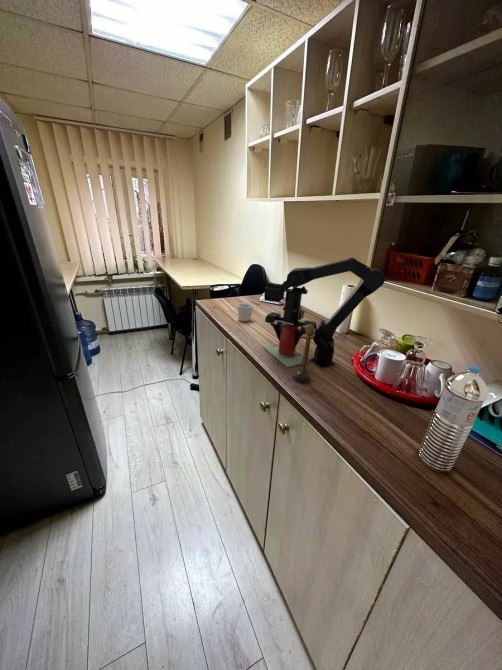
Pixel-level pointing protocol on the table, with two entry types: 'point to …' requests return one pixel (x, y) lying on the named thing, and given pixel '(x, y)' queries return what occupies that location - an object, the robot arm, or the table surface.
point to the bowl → (299, 328)
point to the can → (287, 339)
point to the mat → (285, 357)
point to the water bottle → (452, 420)
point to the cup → (245, 311)
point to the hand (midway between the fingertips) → (287, 342)
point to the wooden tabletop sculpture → (303, 374)
